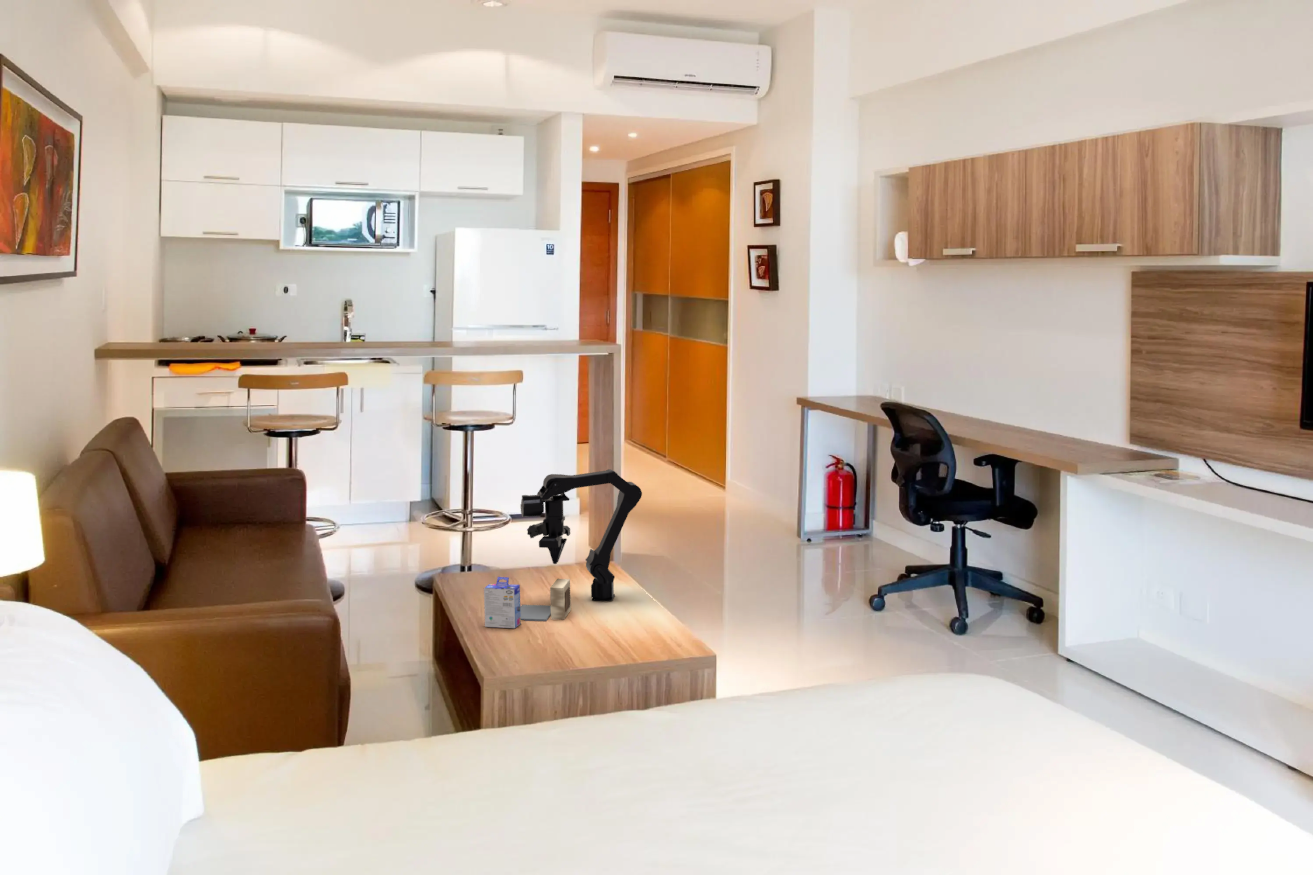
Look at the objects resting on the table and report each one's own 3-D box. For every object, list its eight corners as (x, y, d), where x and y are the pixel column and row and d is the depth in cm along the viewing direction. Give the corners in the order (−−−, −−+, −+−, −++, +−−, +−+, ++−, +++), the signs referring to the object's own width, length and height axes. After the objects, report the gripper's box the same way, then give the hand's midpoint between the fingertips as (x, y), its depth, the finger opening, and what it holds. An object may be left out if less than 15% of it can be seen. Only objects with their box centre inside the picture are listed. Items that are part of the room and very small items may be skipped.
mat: (556, 607, 366) (556, 605, 366) (546, 621, 353) (546, 619, 353) (522, 606, 368) (522, 604, 368) (510, 620, 354) (510, 618, 354)
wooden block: (571, 610, 364) (570, 578, 362) (564, 619, 354) (564, 588, 352) (558, 609, 364) (557, 578, 363) (551, 619, 354) (550, 587, 353)
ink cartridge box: (521, 623, 351) (520, 576, 349) (516, 629, 346) (514, 581, 344) (490, 621, 353) (489, 575, 351) (484, 627, 348) (482, 580, 345)
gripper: (536, 508, 377) (537, 554, 380) (522, 521, 359) (523, 570, 361) (570, 508, 376) (571, 555, 378) (557, 521, 357) (558, 571, 360)
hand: (555, 562), depth 369 cm, fingers closed
